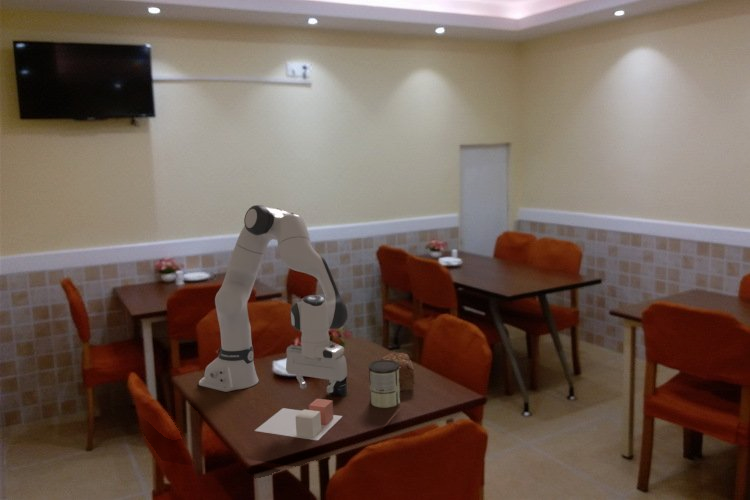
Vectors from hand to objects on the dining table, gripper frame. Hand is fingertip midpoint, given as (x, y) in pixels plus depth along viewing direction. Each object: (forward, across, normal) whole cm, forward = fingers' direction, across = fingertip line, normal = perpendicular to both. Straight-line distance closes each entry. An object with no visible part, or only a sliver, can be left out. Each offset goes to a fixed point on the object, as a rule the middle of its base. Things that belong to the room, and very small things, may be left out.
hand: (316, 389), depth 206 cm
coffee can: (+11, +15, +21) cm, 28 cm away
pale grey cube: (+11, +1, -8) cm, 13 cm away
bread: (+11, +11, +42) cm, 45 cm away
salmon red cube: (+10, +1, +1) cm, 11 cm away
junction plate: (+12, -5, -3) cm, 13 cm away
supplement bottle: (+12, -4, +24) cm, 27 cm away
